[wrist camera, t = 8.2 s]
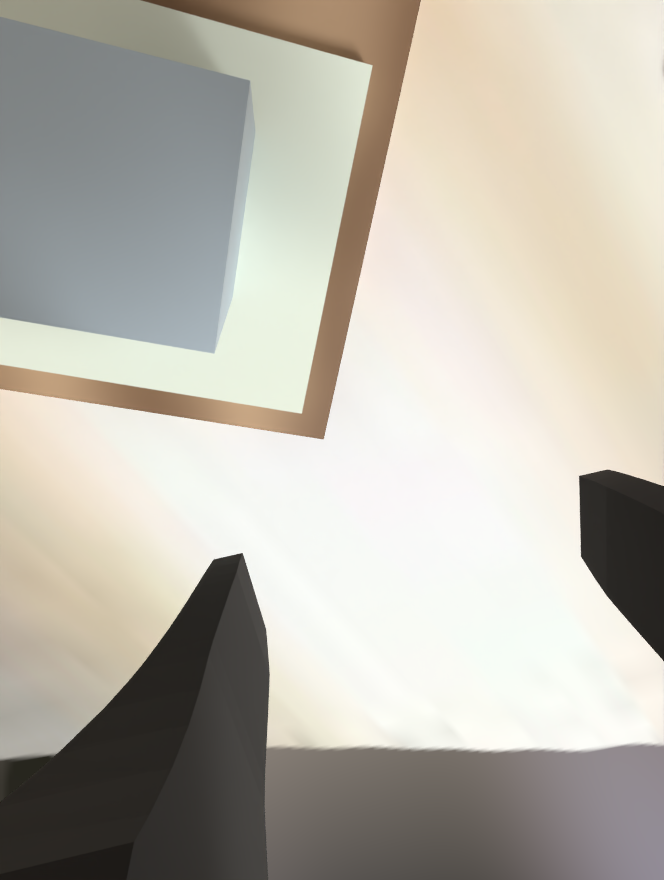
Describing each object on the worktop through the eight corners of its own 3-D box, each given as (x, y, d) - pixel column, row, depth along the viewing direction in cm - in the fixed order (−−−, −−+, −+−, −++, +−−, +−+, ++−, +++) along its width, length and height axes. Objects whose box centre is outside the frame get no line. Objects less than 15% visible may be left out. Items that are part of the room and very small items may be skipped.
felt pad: (368, 70, 16) (372, 65, 15) (300, 407, 19) (301, 413, 19) (-24, -40, 14) (-35, -49, 13) (-20, 354, 18) (-29, 359, 17)
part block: (255, 131, 16) (250, 80, 9) (232, 297, 17) (214, 353, 11) (81, 89, 15) (-58, 1, 8) (74, 267, 16) (-48, 308, 10)
